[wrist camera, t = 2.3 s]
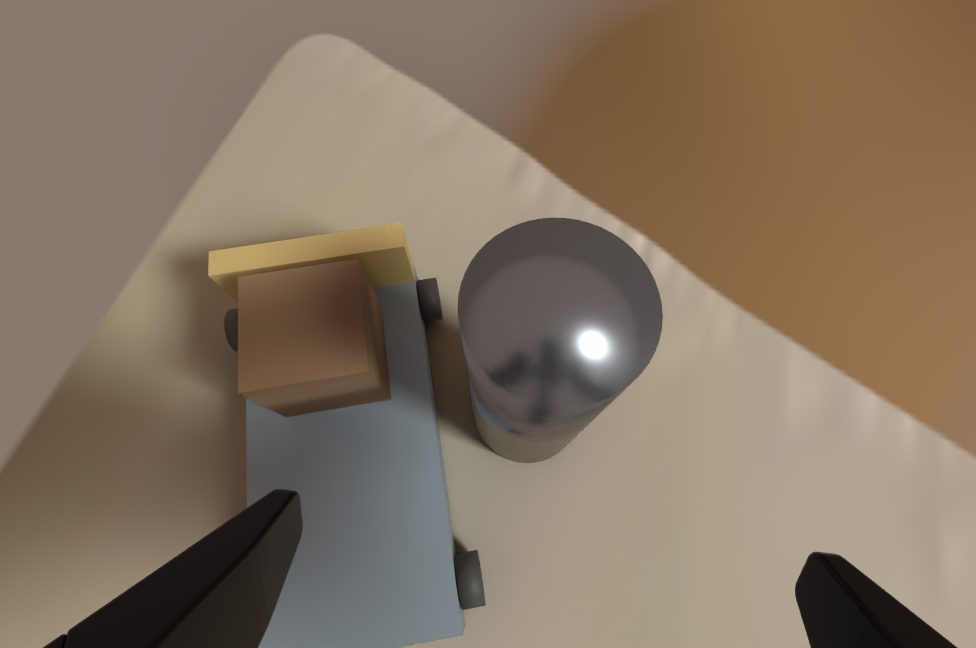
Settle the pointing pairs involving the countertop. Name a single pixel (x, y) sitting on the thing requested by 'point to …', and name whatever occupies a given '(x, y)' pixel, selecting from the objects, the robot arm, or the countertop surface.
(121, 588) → the countertop surface
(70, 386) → the countertop surface
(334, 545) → the cart
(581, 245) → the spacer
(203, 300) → the countertop surface
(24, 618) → the countertop surface
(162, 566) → the robot arm
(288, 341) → the collected block
